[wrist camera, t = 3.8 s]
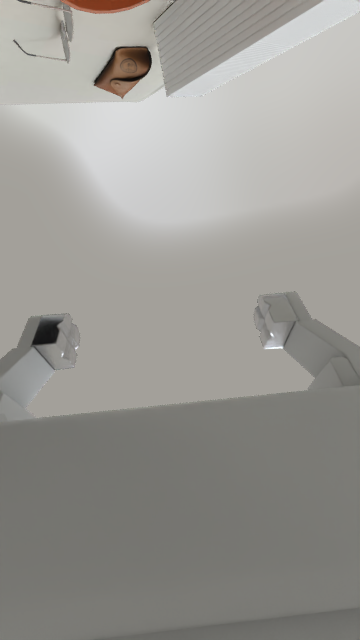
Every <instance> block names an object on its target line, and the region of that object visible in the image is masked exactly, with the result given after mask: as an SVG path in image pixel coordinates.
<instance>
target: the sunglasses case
mask: <svg viewBox="0 0 360 640" xmlns="http://www.w3.org/2000/svg"><path fill="white" fill-rule="evenodd" d="M151 64H152V58H151V54H150V52H149V51H148V49H147V48H145V47H144V48H143V47H125V48H120V49H118V50H116V51H115V53H114V55H113V58H112V59H111V60H110V62H109V64H108V65H107V66H106V68H105V69H104V70H103V71H102V73H101V74H100V76H99V77H98V79H97V80H96V82H95V84H94V86H96V87H99V88H101V89H104V90H106V91H109V92H111V93H113V94H116V95H118V96H120V97H121V98H122V99H123V97H124V95H125V94H126V93H127V92H128V91H130V90H131V89H132V88H133V87H134V86H135V85H136V84H137V83H138V82H139V81H140V79H142V78H143V77H145V76H146V75H147V74H148V72H149V70H150V68H151Z"/></svg>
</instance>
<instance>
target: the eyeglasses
mask: <svg viewBox="0 0 360 640" xmlns="http://www.w3.org/2000/svg"><path fill="white" fill-rule="evenodd" d="M18 1H20V2H23V3H28V4H34V5H38V6H42V7H47V8H51V9H55V10H60V11H63V12H64V18H65V24H66V25H65V26H66V31H65V27H64V23H63V21H61V39H62V43H63V48H64V52H65V57H66V59H58V58H50V57H43V56H37V57H43V58H49V59H55V60H61V61H67V63H68V64H69V62H70V48H69V41H70V42H72V39H73V19H72V16H73V13H72V11H71V10H70V6H69V5H67V4H65V3H63V9H62V8H57V7H52V6H47V5H41V4H36V3H31V2H28V1H23V0H18ZM66 32H67V33H68V39H67V35H66ZM13 41H14V42H15V43H16V44H17V45H18V46H19V44H18V43H17V42H16V41H15V40H13ZM19 48H20V49H21V50H22V51H23V52H24V53H26V52H25V51H24V50H23V49H22V48H21V47H20V46H19ZM26 54H27V55H30V56H36V55H32V54H28V53H26Z"/></svg>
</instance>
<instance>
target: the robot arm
mask: <svg viewBox="0 0 360 640" xmlns="http://www.w3.org/2000/svg"><path fill="white" fill-rule="evenodd" d="M257 303H258V305H259V306H257V307H256V308H255V311H254V321H255V325H256V329H258V330H259V331H260V332H261V333H260V336H259V337H260V340H261V342H262V345H263V348H264V349H271V348H283V349H284V350H285V351H286V352H287V353H288V354H290V355H291V356H292V357H293V358H294V359H295V360H296V361H297V362H298V363H299V364H300V365H301V366H303V367H304V368H305V369H306V370H307V371H308V372H309V373H310V374H311V375H312V376H313V377H315V380H314V381H313V382H312V383H311V385H310V386H309V387H308V390H306V391H297V392H287V393H277V394H267V395H258V396H248V397H238V398H228V399H218V400H208V401H198V402H189V403H179V404H169V405H160V406H150V407H140V408H131V409H120V410H112V411H101V412H92V413H81V414H73V415H63V416H52V417H43V418H35V416H34V414H33V413H31V412H30V411H28V410H27V409H26V407H27V406H28V404H29V403H30V402H31V401H32V400H33V398H34V397H35V396H36V395H37V393H38V392H39V390H40V389H41V388H42V387H43V386H44V384H45V383H46V382H47V381H48V379H49V378H50V377H51V376H52V374H53V373H54V372H55V370H60V369H68V368H74V367H75V363H76V357H77V353H76V352H75V350H76V349H77V347H78V346H79V343H80V333H79V330H78V327H77V326H76V325H74V324H73V323H72V318H71V316H70V314H67V313H66V314H52V315H41V316H31V317H30V318H29V319H28V321H27V324H26V326H25V329H24V331H23V333H22V336H21V338H20V341H19V343H18V346H17V348H15V349H12V350H11V351H10V352H8V353H7V354H6V355H5V356H4V357H3V358H1V359H0V640H360V347H359V346H358V345H356V344H354V343H353V342H351V341H350V340H348V339H347V338H345V337H343V336H342V335H340V334H339V333H337V332H335V331H334V330H332V329H330V328H329V327H327V326H326V325H324V324H322V323H321V322H319V321H318V320H316V319H314V320H312V318H311V316H310V315H309V313H308V311H307V309H306V307H305V306H304V304H303V302H302V301H301V299H300V297H299V295H298V294H297V293H296V292H295V291H294V292H285V293H275V294H266V295H260V296H259V297H258V300H257Z"/></svg>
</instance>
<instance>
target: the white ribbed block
mask: <svg viewBox="0 0 360 640" xmlns="http://www.w3.org/2000/svg"><path fill="white" fill-rule="evenodd" d="M358 12H360V0H176V1H175V2H174V3H173V4H172V5H171V6H170V7H169V8H168V9H167V10H166V11H165V12H164V13H163V14H162V15H161V16H160V17H159V18H158V19H157V20H156V21H155V22H154V23H153V24H154V30H156V31H155V35H156V37H157V39H156V41H157V44H158V51H160V52H159V57H160V58H161V59H160V62H161V65H162V66H161V68H162V71H163V77H164V84H166V85H165V89H166V90H167V91H166V95H167V97H187V96H203V95H205V94H206V93H208V92H210V91H212V90H214V89H216V88H218V87H220V86H221V85H223V84H225V83H227V82H229V81H231V80H233V79H234V78H236V77H238V76H240V75H242V74H244V73H246V72H248V71H250V70H251V69H253V68H255V67H257V66H259V65H261V64H263V63H265V62H266V61H268V60H270V59H272V58H274V57H276V56H278V55H279V54H281V53H283V52H285V51H287V50H289V49H291V48H292V47H295V46H297V45H298V44H300V43H302V42H304V41H306V40H308V39H310V38H312V37H313V36H315V35H317V34H319V33H321V32H323V31H325V30H326V29H328V28H330V27H332V26H334V25H336V24H338V23H340V22H341V21H343V20H345V19H347V18H349V17H351V16H353V15H354V14H357V13H358Z"/></svg>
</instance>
